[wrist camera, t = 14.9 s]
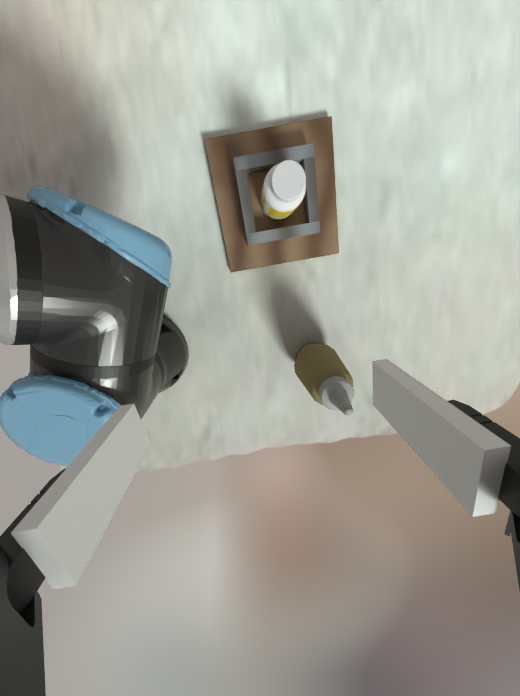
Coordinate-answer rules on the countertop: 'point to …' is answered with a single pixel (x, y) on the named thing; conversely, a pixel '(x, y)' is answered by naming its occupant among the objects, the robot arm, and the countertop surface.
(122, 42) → the countertop surface
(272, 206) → the supplement bottle
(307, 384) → the squeeze bottle
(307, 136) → the socket holder
